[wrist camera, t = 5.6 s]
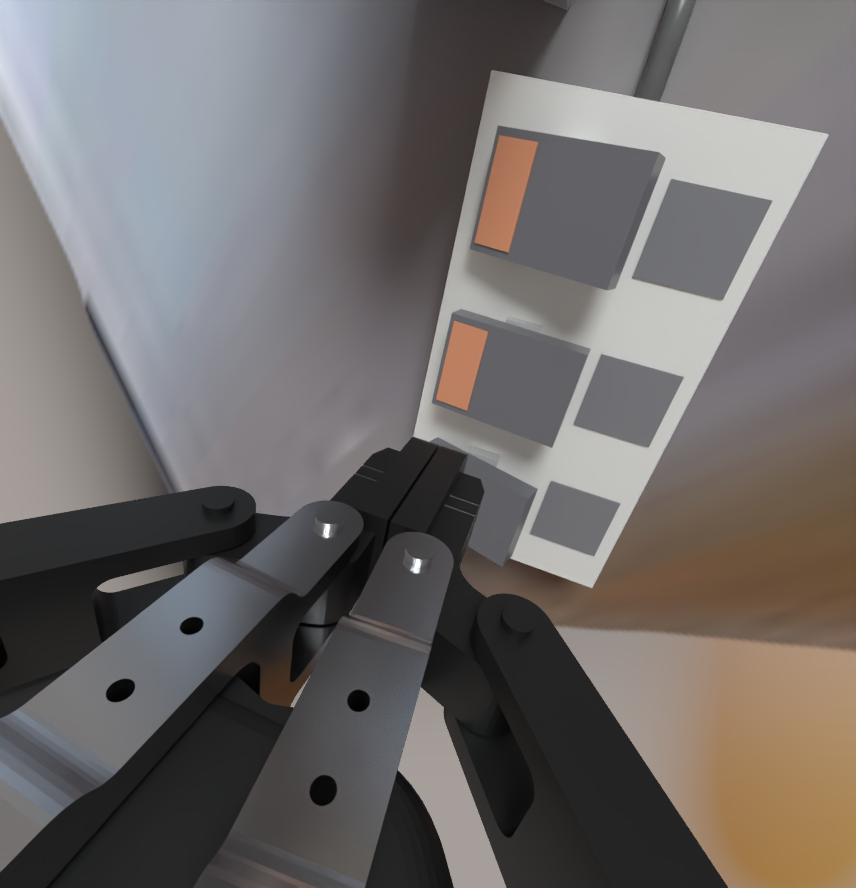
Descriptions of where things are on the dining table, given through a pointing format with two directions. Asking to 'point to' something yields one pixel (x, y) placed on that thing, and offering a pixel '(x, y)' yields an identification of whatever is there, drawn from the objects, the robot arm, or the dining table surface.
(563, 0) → the perfume bottle
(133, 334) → the dining table surface
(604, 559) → the power strip
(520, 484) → the rocker
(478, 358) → the block
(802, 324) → the dining table surface
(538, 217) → the plate
